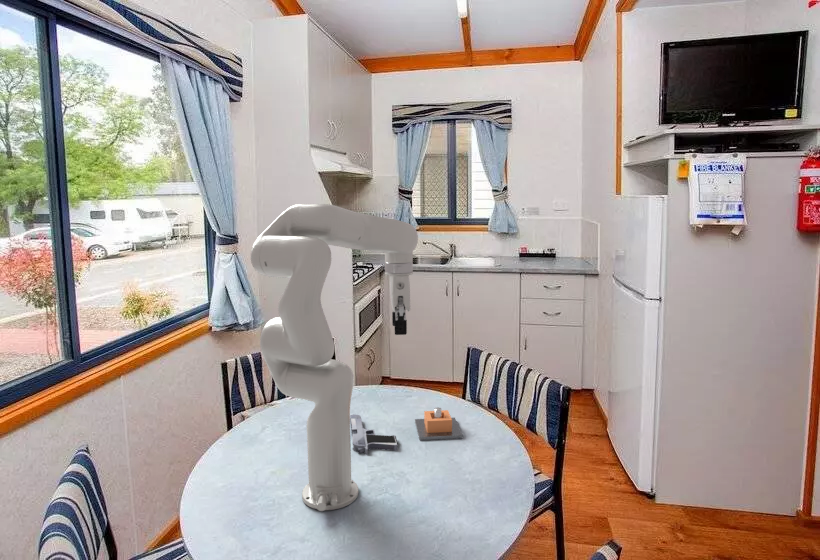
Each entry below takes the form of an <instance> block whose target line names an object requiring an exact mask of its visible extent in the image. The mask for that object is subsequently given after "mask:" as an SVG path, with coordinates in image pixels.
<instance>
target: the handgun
mask: <svg viewBox="0 0 820 560" xmlns="http://www.w3.org/2000/svg"><path fill="white" fill-rule="evenodd" d="M350 434H351V438H352V439H351V440H352V450H353V452H356V453H358V454H361V453H364V454H365V455H366V456H368V451H369V449H370V450H382V449H385V451H398V445H399V443H398V442H399V441H398V440H397V437H396V435H394V434H393V435H379V434H376V433H375V429H366V428H365V427H363V422H362V416H361V415H360V414H356V413H355V414H354V413H353V414H350Z"/></svg>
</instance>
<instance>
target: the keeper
mask: <svg viewBox="0 0 820 560" xmlns="http://www.w3.org/2000/svg"><path fill="white" fill-rule="evenodd" d="M441 410H442V408H441V407H438V406H437V407H435V408H434V410H433V411H434V419H437V418H441ZM451 419H452V432H436V433H427V430H426V426H425V423H424V418H416V419H414V423H415V429H416V432H417V435H418V436H419V437H418V436H417V437H418V439H419V440H420V441H436V440H437V441H439V440H438V439H442V440H456V439H455V438H462V439H463V433H462V431H461V429H460V426H459V424H458V422H457V420H456V417H451Z"/></svg>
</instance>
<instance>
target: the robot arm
mask: <svg viewBox="0 0 820 560" xmlns="http://www.w3.org/2000/svg"><path fill="white" fill-rule="evenodd" d="M418 241H419V235H418V232H417V229H416V228H415V226H414V225H412V224H411V223H408V222H406V221H402V220H399V219H394V218H388V217H381V216H377V215H373V214H366V213H362V212H358V211H354V210H350V209H347V208H344V207H341V206H338V205H334V204H326V203H297V204H294V205H291V206H290V207H288V208H287V209H286V210H284V211H283V212H281V214H280V215H278V216H277V217H276V219H275V220H273V221H272V223H271V224H270V225H269V226H267V228H266V229H265V230H264V231H262V233H261V234H260V235H259V236H258V237H257V238H256V240H255V241H254V242H253V245H252V247H251V250H250V262H251V264H252V267H253V269H254V270H255V271H256V272H257V273H258V274H260V275H261V276H264V277H269V278H278V279H279V278H280V279H281V278H282V279H290V280H289V281H288V283H287V284H286V285H287V286H286V288H285V289H284V291H283V292H282V294H281V295H280V299H279V300H278V305H277V311H278V315H279V316H278V317H277V316H276V317H273V318H272V319H269V321H267V322H266V324H264V327H263V328H262V329H261V333H260V337H259V341H260V342H259V346H260V351H261V355H262V357H263V360H264V362H265V364H266V366H267V368H268V371H269V372H270V373H269V374H270V375H271V377H272V379H273V381H274V383H275V385H276V387H277V389H278V390H279V391H280V392H281V394H283V395H285V396H287V397H290V398H295V399H301V400H305V401H310V402H312V403H314V407H313V409H312V410H311V412H310V413H309V415H308V417H307V420H306V442H307V467H308V468H307V470H308V471H307V472H308V483H307V484H306V485H305V486H304V487H303V489H302V491H301V498H302V502H303V503H304V504H305V505H306V506H308V507H310V508H311V509H314V510H318V511H320V512H323V511H333V510H334V511H335V510H339V509H342V508H345V507H347V506H349V505H350V504H352V503H353V502H355V500H356V499H357V498H358V497H359V485H358V484H357V483H356V482H355V481H354V480H353V479H352V453H351V452H352V450H351V449H352V447H351V446H352V444H351V424H350V415H351V401H352V395H353V389H354V382H355V380H354V372H353V370H352V368H351V367H350V366H349V365H348V364H346V363H344V362H343V361H340V360H337V359H332V358H333V356H334V353H335V342H334V341H335V340H334V338H333V335H332V332H331V330H330V326H329V323H328V320H327V316H326V315H325V312H324V309H323V304H322V301H321V300H322V299H321V298H322V297H321V296H322V291H323V288H324V284H325V282H326V278H327V276H328V274H329V271H330V268H331V264H332V251H331V248H330V246H334V247H341V248H344V249H345V248H346V249H350V250H358V251H369V252H371V253H379V254H381V253H382V254H384V274H385V275H387V276H389V298H390V300H389V301H390V307H391V311H392V315H391V316H392V318H391V319H392V322H391V324H392V327H394V335H395V336H399V335H400V336H402V335H403V336H405V335H407V333H408V330H407V329H408V327H407V326H408V323H407V315H406V313H407V312H411V310H412V309H411V281H410V280H411V279H410V276H412V275H413V274H414V273H413V271H414V270H413V269H414V267H413V266H414V265H413V264H414V263H413V258H414V257H413V256H414V254H413V252H414V250H415V249H416V247H417V246H418Z"/></svg>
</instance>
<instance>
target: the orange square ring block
mask: <svg viewBox="0 0 820 560" xmlns="http://www.w3.org/2000/svg"><path fill="white" fill-rule="evenodd" d="M423 415H424V418H423V419H424V423H425V426H426V430H427V433H436V432H452V419H451V418H452V416H451V415H450V411H449V409H444V410H442V409H441V418H437V419H434V410H424V413H423Z"/></svg>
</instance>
